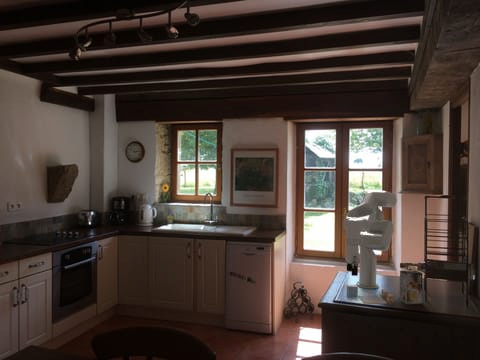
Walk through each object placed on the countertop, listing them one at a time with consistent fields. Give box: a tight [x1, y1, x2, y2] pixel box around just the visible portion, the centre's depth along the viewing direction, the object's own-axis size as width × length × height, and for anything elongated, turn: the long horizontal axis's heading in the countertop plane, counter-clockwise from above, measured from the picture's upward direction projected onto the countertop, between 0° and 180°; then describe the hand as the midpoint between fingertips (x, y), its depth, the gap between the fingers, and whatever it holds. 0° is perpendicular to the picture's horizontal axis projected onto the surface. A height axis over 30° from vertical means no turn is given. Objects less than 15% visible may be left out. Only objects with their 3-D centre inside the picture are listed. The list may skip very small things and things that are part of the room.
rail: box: [381, 289, 395, 305], centre depth 198 cm, size 12×2×4 cm, turn 179°
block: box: [345, 284, 359, 298], centre depth 205 cm, size 4×5×6 cm
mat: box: [357, 295, 388, 305], centre depth 199 cm, size 11×12×1 cm
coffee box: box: [399, 269, 423, 305], centre depth 197 cm, size 9×6×16 cm
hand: (352, 273), depth 204 cm, fingers open, 9 cm apart
